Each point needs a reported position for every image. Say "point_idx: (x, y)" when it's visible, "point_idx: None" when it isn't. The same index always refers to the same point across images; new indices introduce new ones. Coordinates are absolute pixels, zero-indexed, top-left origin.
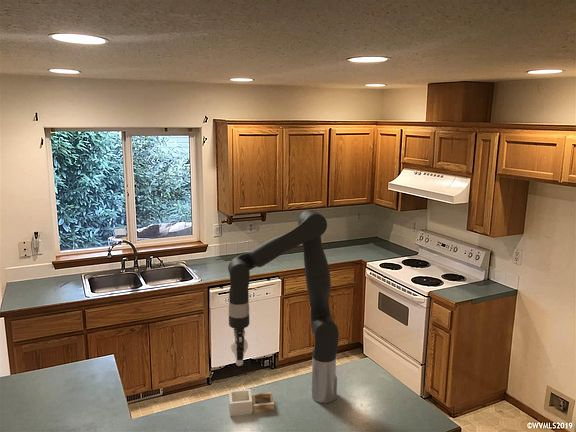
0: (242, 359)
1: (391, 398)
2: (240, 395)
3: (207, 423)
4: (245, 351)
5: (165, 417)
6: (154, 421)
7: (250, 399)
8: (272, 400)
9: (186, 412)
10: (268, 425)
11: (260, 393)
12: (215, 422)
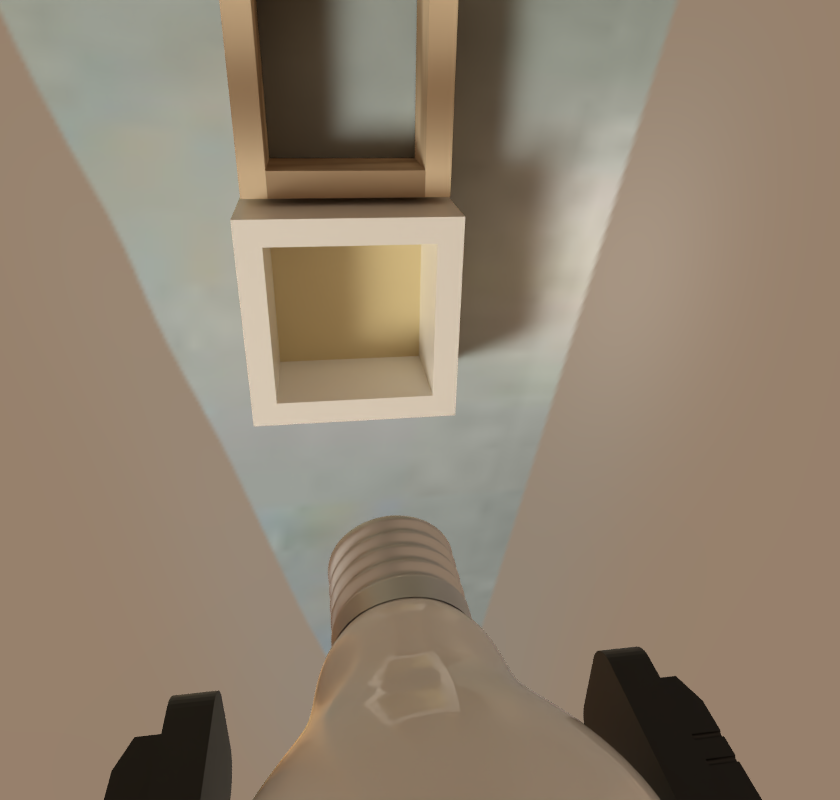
0: (637, 654)
1: None
2: (271, 308)
3: (484, 495)
4: (595, 734)
5: None
6: None
7: (427, 233)
8: None
9: None
10: (631, 63)
11: (241, 95)
12: (486, 452)
